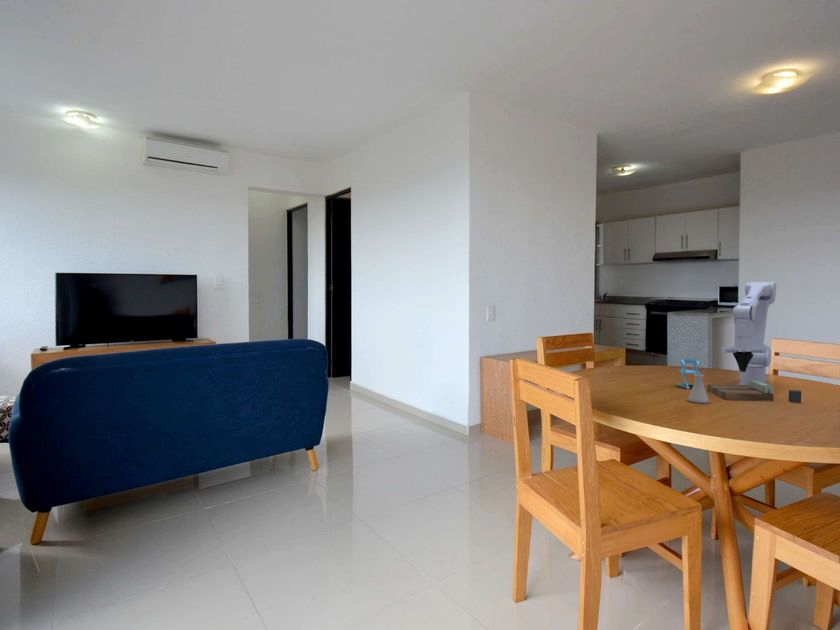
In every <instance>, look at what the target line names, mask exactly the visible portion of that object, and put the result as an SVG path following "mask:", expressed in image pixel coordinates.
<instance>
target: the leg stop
mask: <svg viewBox="0 0 840 630" xmlns="http://www.w3.org/2000/svg"><path fill="white" fill-rule="evenodd" d="M789 401H790V403H792V402H801V403H802V391H801V390H798V389H788V402H789Z"/></svg>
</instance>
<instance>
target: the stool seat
mask: <svg viewBox="0 0 840 630" xmlns="http://www.w3.org/2000/svg"><path fill="white" fill-rule="evenodd" d="M707 391H708V392H709V393H712V394H714V395H715V396H718V397H720V398H722V399H723V400H726V401H755V402H757V401H758V402H759V401H762V402H768V401H769V402H773V401H774V400H775V399H774V393H764V392H761V391H759V390H756V389H754V388H751V387H749V385H738V384H717V383H716V384H714V383H713V384H708V383H707Z"/></svg>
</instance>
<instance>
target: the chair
mask: <svg viewBox="0 0 840 630" xmlns="http://www.w3.org/2000/svg"><path fill="white" fill-rule="evenodd" d="M679 363H680V366H681V367H680V368H679V369H678V370H679V372H680V374H681V376H682V378H683V382H684V383H683V382H677V383H676V386H678V385H680V386H682V387H681V388H683V387H685V388H687V389H686V390H688V389H689V390H690V386H689V385H694V383H689V382H688V381H687V378H686V376H685V375H694V374H701V372H700V371H699V368H700V361H699V360H696V359H695V358H694V359H693V358H683V359H681V360H680V361H679ZM686 364H692V365H693V366H692V368H693V369H687V367H686ZM685 385H686V386H685ZM680 386H679V387H680ZM685 388H684V389H685Z"/></svg>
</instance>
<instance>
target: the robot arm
mask: <svg viewBox="0 0 840 630" xmlns="http://www.w3.org/2000/svg"><path fill="white" fill-rule="evenodd" d="M744 292H745V293H744V294H745V296H743V297H742V299H741V301H740V302H739V304H737V305H736V306H734V307H733V310H732V316H733V317H732V318H733V324H734V341H733V342H734V346H726V347H725V346H724V347H721V353H722V354H727V353H729V354H730V353H732V356H733V357H734V358H735V361H736V363H737V367H738V371H739V372H740V373H739V374H740V375H739V376H740V380H739V382H738V383H737V385H749V383H750V380H756V381H759V382H762V383H765V384H766V375H767V374H766V373H767V367H769V366H770V365H771V363H772V350H771V347H769V345H767V344H766V343H765V336H766V326H767V319H768V318H767V317H768V310H769V307H770V305H772V304H774V303H775V300H776V294H777V283H776V282H775V281H747V282H746V283H745V286H744Z"/></svg>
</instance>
